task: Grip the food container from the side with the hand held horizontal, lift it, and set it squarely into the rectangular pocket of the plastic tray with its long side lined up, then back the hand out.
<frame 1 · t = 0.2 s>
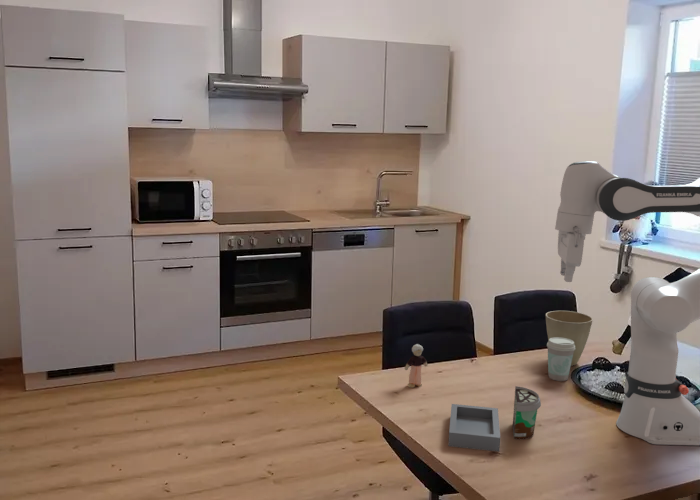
hand: (565, 278, 174), 38 cm above the table, tool pointing down, fingers open, 8 cm apart
grandmother figurine: (415, 385, 203), on the table
plant pot: (564, 363, 228), on the table
coffee cup: (558, 378, 213), on the table
tray: (473, 432, 172), on the table
food container: (525, 433, 173), on the table
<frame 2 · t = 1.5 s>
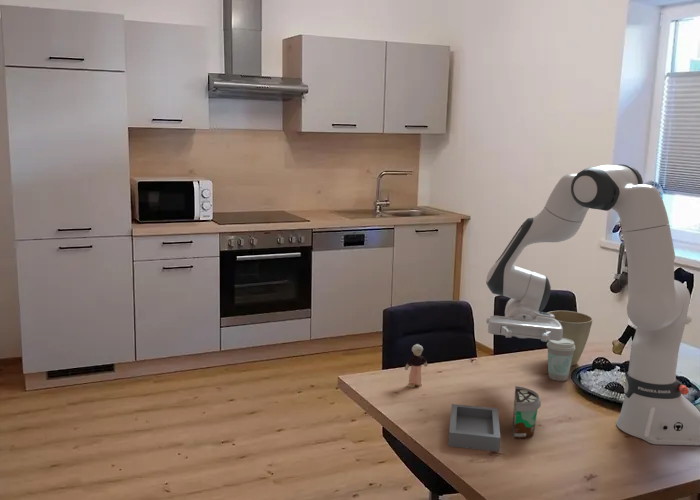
hand: (526, 336, 183), 21 cm above the table, tool horizontal, fingers open, 8 cm apart
nothing on the table moved.
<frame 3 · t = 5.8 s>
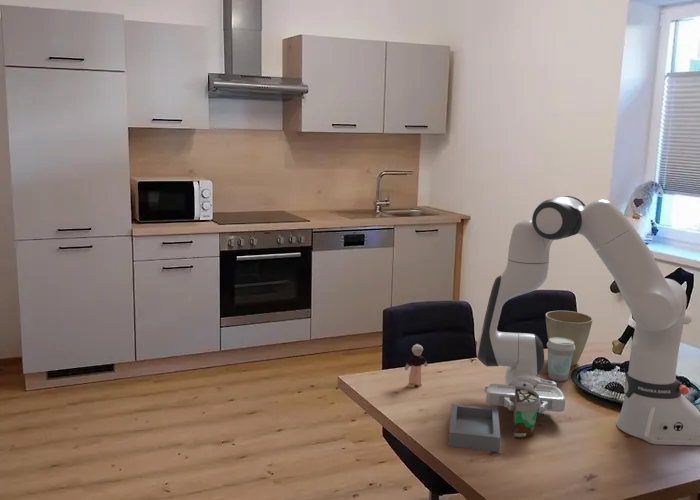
hand: (526, 409, 173), 6 cm above the table, tool horizontal, fingers open, 6 cm apart
food container: (525, 433, 173), on the table, touching gripper
everything else where it was.
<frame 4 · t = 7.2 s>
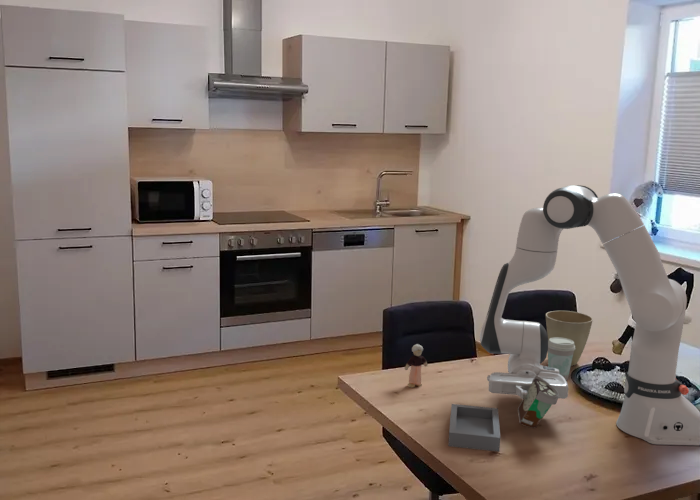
hand: (529, 396, 173), 9 cm above the table, tool horizontal, fingers closed on food container
food container: (529, 422, 172), point 3 cm above the table, touching gripper
everything else where it was.
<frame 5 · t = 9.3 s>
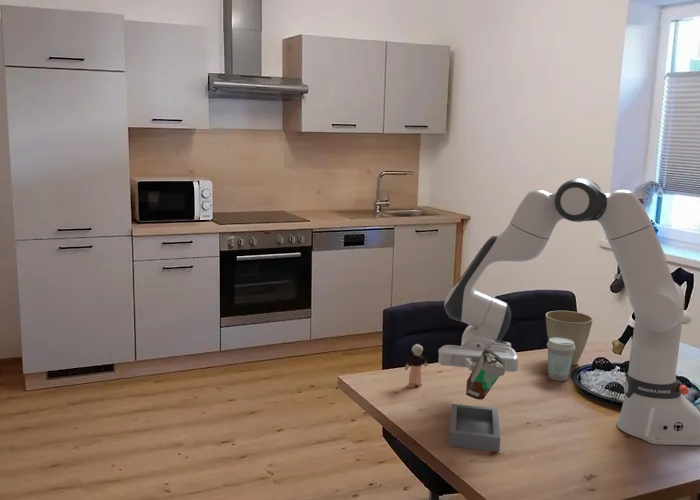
hand: (477, 368, 170), 16 cm above the table, tool horizontal, fingers closed on food container
food container: (476, 394, 170), point 10 cm above the table, touching gripper
everything else where it was.
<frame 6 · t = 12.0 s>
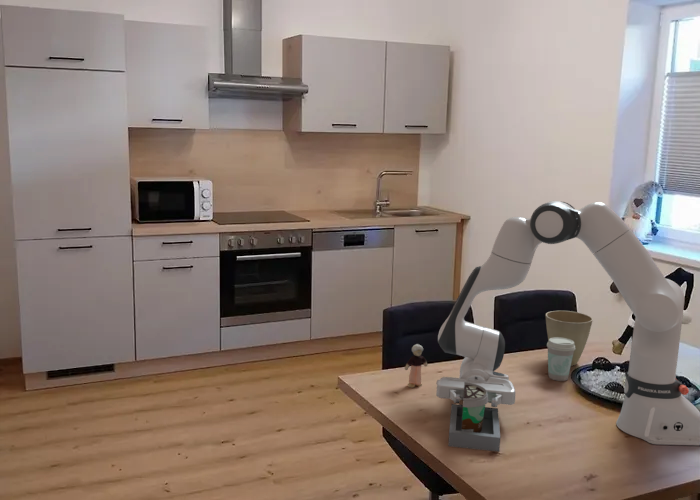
hand: (475, 402, 172), 8 cm above the table, tool horizontal, fingers open, 8 cm apart
food container: (473, 429, 172), point 1 cm above the table, touching tray
everything else where it was.
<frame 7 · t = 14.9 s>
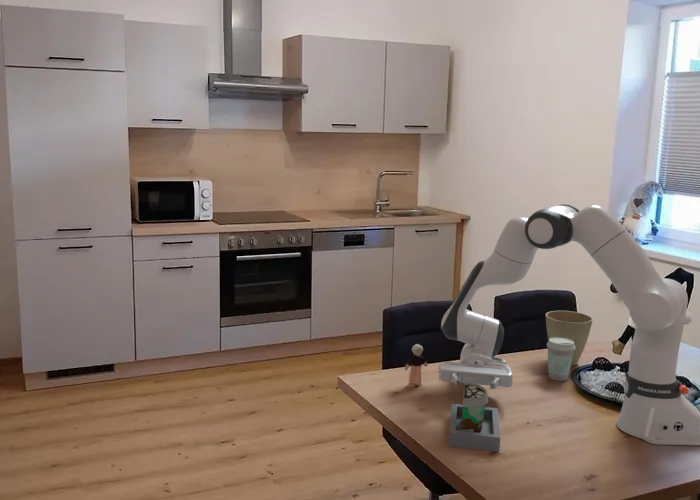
hand: (475, 384, 184), 8 cm above the table, tool horizontal, fingers open, 8 cm apart
nothing on the table moved.
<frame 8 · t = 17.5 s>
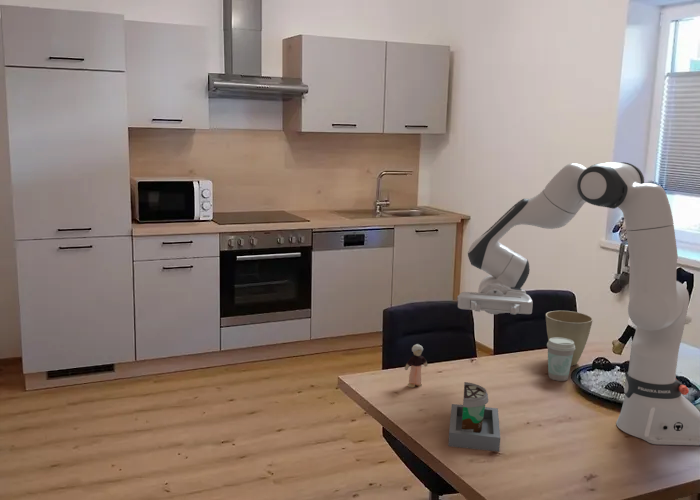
hand: (495, 309, 182), 28 cm above the table, tool horizontal, fingers open, 8 cm apart
nothing on the table moved.
at the end: food container 0.3 cm off-centre on the tray, point 0.8 cm above the tray's base; food container tilted 0°; the gripper is holding nothing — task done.
